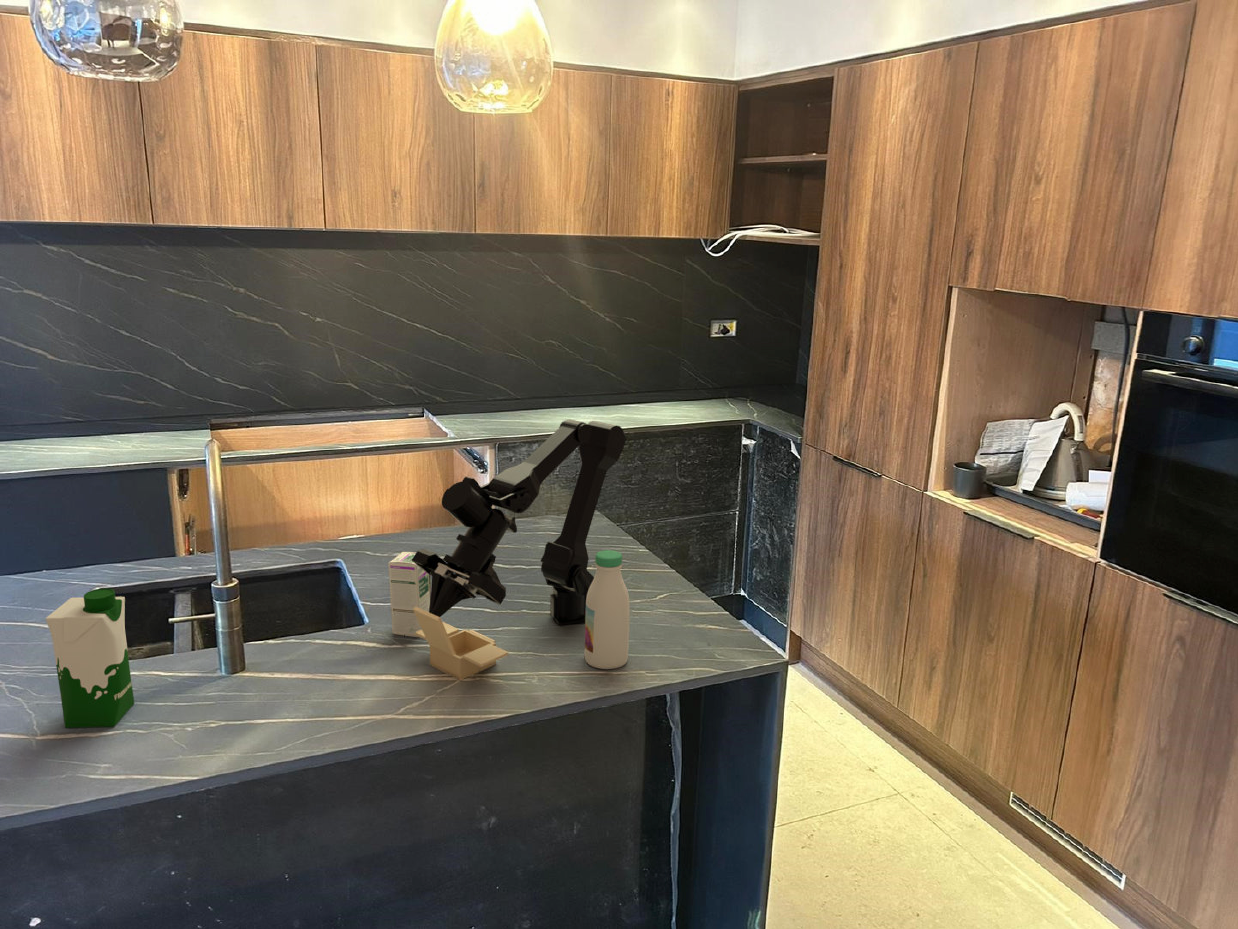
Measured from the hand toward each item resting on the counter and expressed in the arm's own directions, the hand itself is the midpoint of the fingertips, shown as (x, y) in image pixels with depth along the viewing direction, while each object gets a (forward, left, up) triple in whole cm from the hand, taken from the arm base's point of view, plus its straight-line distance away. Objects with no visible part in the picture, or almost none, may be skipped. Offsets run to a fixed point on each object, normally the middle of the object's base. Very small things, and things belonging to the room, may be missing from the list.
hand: (431, 620), depth 149 cm
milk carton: (+50, -3, -11) cm, 51 cm away
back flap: (-2, -1, -6) cm, 7 cm away
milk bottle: (-30, +2, -11) cm, 32 cm away
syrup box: (+1, -20, -11) cm, 23 cm away
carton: (-6, -3, -11) cm, 12 cm away
